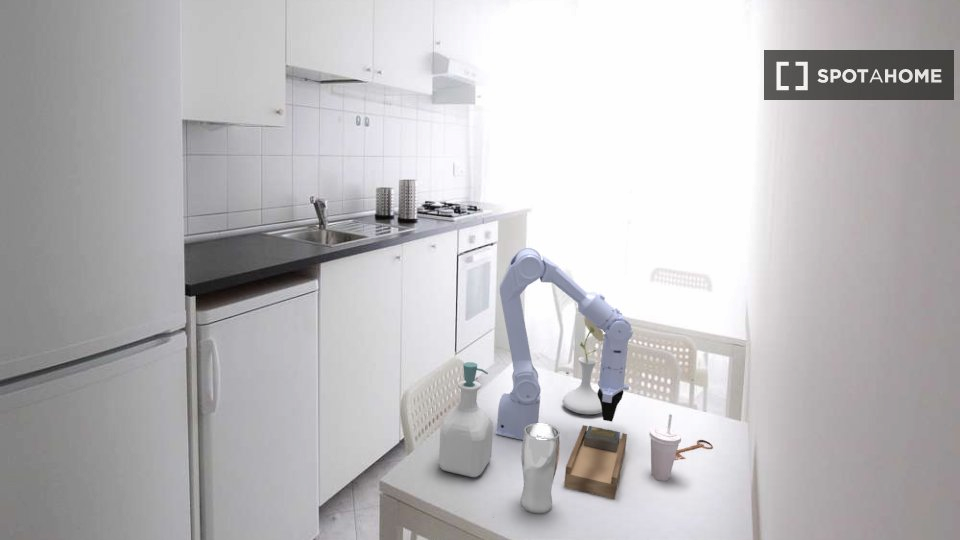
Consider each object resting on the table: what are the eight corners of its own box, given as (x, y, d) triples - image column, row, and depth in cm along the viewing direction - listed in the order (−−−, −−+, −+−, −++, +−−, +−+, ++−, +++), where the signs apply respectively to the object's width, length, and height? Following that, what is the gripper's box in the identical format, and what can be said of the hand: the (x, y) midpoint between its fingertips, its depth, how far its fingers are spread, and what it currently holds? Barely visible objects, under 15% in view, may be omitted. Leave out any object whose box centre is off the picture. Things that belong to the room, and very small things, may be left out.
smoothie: (678, 486, 117) (686, 422, 114) (645, 481, 118) (653, 418, 116) (674, 470, 123) (681, 409, 120) (643, 465, 124) (650, 405, 122)
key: (675, 467, 126) (722, 453, 133) (675, 463, 126) (723, 450, 132) (656, 452, 131) (702, 440, 138) (657, 449, 131) (703, 437, 137)
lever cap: (583, 445, 125) (585, 432, 125) (588, 433, 131) (589, 421, 130) (616, 452, 123) (617, 439, 123) (619, 440, 129) (620, 428, 128)
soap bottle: (479, 482, 114) (485, 375, 110) (435, 472, 117) (439, 367, 113) (493, 460, 123) (499, 360, 119) (452, 451, 126) (456, 353, 122)
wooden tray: (564, 486, 114) (565, 466, 114) (581, 443, 133) (582, 425, 132) (614, 499, 111) (616, 478, 110) (625, 452, 130) (627, 434, 129)
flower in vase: (609, 420, 146) (618, 326, 141) (564, 417, 146) (573, 323, 141) (599, 399, 159) (608, 312, 154) (558, 396, 159) (566, 310, 154)
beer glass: (515, 493, 111) (520, 422, 108) (550, 493, 112) (556, 422, 109) (520, 515, 104) (526, 439, 102) (558, 515, 105) (564, 440, 102)
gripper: (627, 378, 124) (621, 436, 127) (633, 358, 138) (628, 410, 140) (595, 373, 127) (590, 429, 129) (604, 354, 140) (599, 405, 143)
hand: (607, 419), depth 135 cm, fingers closed
